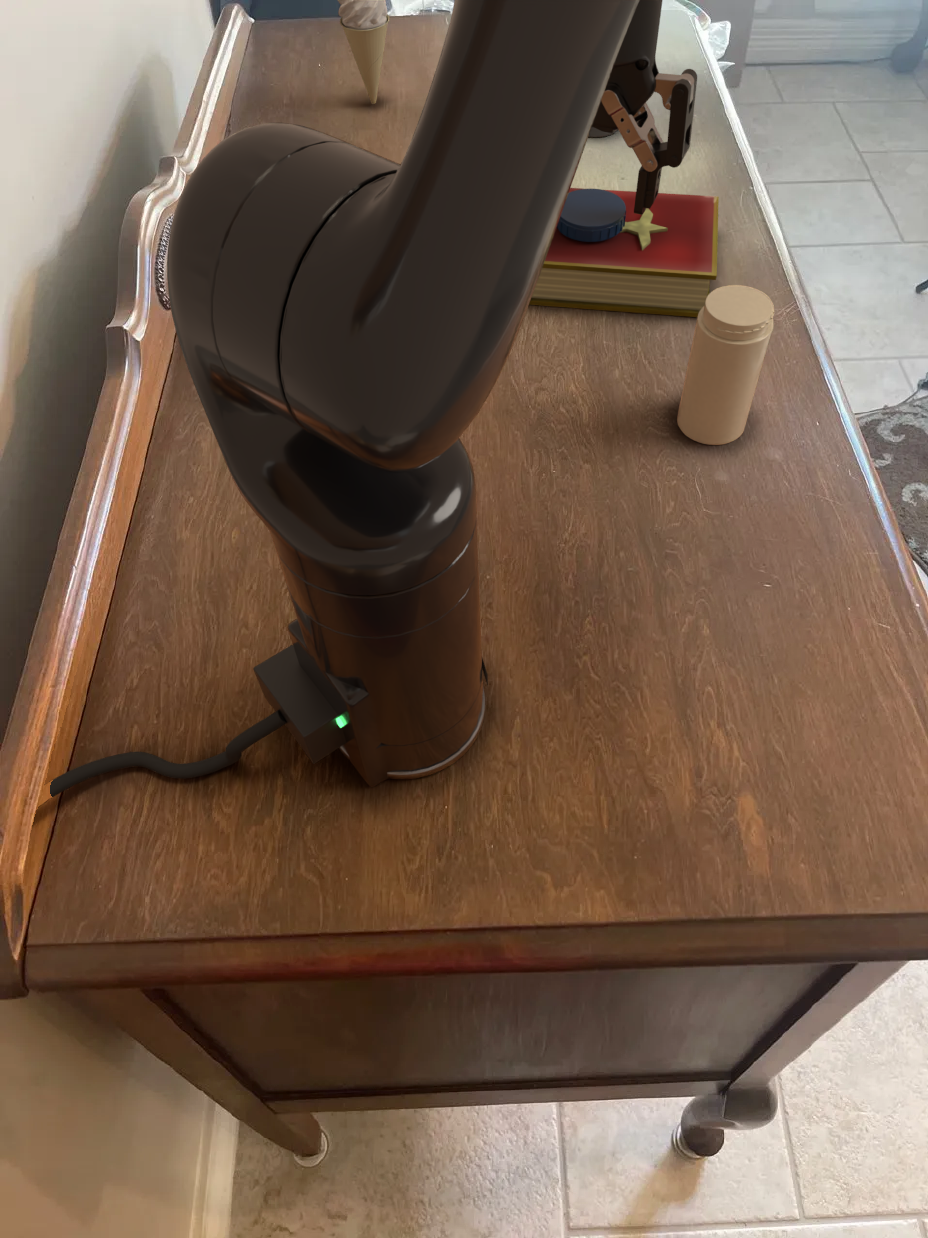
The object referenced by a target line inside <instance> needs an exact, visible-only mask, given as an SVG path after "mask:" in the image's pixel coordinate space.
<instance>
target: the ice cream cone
mask: <svg viewBox="0 0 928 1238" xmlns="http://www.w3.org/2000/svg"><path fill="white" fill-rule="evenodd" d="M386 1H387V0H337V2H338V4H339V8H338V12H337V13H338V16H339V17H341V18H340V19H339V24H340V26H341V27H342V30H343V32H344V34H345V36H346V40H347V42H348V45H349V47H350V50H351V53H352V55H353V58H354V61H355V63H356V64H355V65H356V66H357V70H358V72H359V74H360V76H361V79H362V82H363V84H364V87H365V89H366V92H367V95H368V98H369V100H370V102H371V104H372V105H374V104H376V103H377V99H378V93H379V86H380V78H381V72H382V66H383V65H382V64H383V59H384V52H385V45H386V37H387V32H388V23H389V22H390V15H389V13H388V8H387V3H386Z"/></svg>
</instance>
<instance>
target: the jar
mask: <svg viewBox="0 0 928 1238" xmlns="http://www.w3.org/2000/svg"><path fill="white" fill-rule="evenodd" d="M775 312H776V311H775V305H774V303H773V301H772V299H771V298H770V297H769V295H767V294H766V293H765V292H763V291H762V290H759V289H758V288H755V287H752V286H748V285H743V284H742V285H741V284H729V285H723V286H720V287H717V288H714V290H712V291H710V292H709V295H708V296H707V298H706V301H705V305H704V307H702V309H701V310H700V311H699V313H698V317H696V322H695V327H694V332H693V337H692V342H691V347H690V351H689V352H690V353H689V357H688V362H687V367H686V372H685V376H684V381H683V386H682V392H681V396H680V401H679V406H678V411H677V414H676V415H677V416H676V421H677V426H678V427H679V430H680V431H681V432H682V433H683V434H684V435H685V436H686V437H687V438H689V439H690V440H692V441H695V442H697V443H699V444H702V445H708V446H709V445H710V446H721V445H726V444H730V443H732V442H734V441H736V440H738V438H740V437H741V436H742V435H743V433H744V432H745V429H746V426H747V421H748V418H749V416H750V413H751V408H752V404H753V400H754V398H755V394H756V390H757V386H758V383H759V379H760V376H761V373H762V369H763V365H764V362H765V359H766V356H767V352H768V348H769V345H770V341H771V338H772V334H773V330H774V319H773V318H774V316H775Z"/></svg>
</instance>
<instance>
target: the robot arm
mask: <svg viewBox="0 0 928 1238" xmlns="http://www.w3.org/2000/svg"><path fill="white" fill-rule="evenodd" d="M662 7H663V0H454V2H453V5H452V11H451V16H450V21H449V24H448V28H447V32H446V35H445V38H444V42H443V46H442V49H441V52H440V55H439V59H438V63H437V65H436V68H435V71H434V75H433V78H432V80H431V84H430V87H429V90H428V92H427V93H428V94H427V95H426V96H427V97H426V100H425V102H424V105H423V108H422V111H421V113H420V116H419V119H418V121H417V124H416V126H415V129H414V132H413V135H412V138H411V141H410V143H409V145H408V147H407V150H406V151H405V154H404V156H403V158H402V160H401V163H398V162H396V161H394V160H392V159H389V158H387V157H384V156H382V155H379V154H377V153H375V152H372V151H370V150H367V149H365V148H363V147H360V146H357V145H355V144H352V143H350V142H348V141H345V140H343V139H340V138H338V137H335V136H333V135H331V134H329V133H327V132H326V133H325V132H323V131H320V130H317V129H314V128H312V127H309V126H305V125H300V124H297V123H296V124H295V123H289V122H288V123H287V122H267V123H260V124H256V125H255V124H254V125H252V126H251V125H250V126H248V127H245V128H242V129H240V130H238V131H236V132H235V133H232V134H230V135H228V136H227V137H225V138H224V139H223V140H221V141H220V142H218V143H217V144H216V145H215V146H214V147H212V148H211V149H210V150H209V152H208V153H207V154H206V155H205V156H204V157H203V158H202V159H201V161H200V162H199V163H198V164H197V165H196V167H195V169H194V170H193V171H192V173H191V175H190V176H189V178H188V179H187V182H186V184H185V185H184V187H183V190H182V192H181V194H180V196H179V198H178V201H177V204H176V207H175V209H174V213H173V217H172V221H171V225H170V231H169V238H168V245H167V256H166V279H167V280H166V281H167V289H168V290H167V291H168V301H169V306H170V307H169V308H170V312H171V317H172V321H173V325H174V329H175V334H176V337H177V340H178V343H179V346H180V347H179V348H180V350H181V353H182V355H183V358H184V362H185V364H186V367H187V369H188V372H189V375H190V377H191V380H192V383H193V386H194V388H195V390H196V393H197V396H198V398H199V401H200V403H201V406H202V408H203V410H204V413H205V415H206V418H207V420H208V423H209V425H210V427H211V431H212V433H213V436H214V437H215V440H216V443H217V445H218V449H219V451H220V453H221V455H222V457H223V461H224V463H225V465H226V467H227V469H228V472H229V474H230V476H231V479H232V480H233V482H234V484H235V486H236V489H237V490H238V492H239V494H240V495H241V497H242V498H243V499H244V501H245V502H246V504H247V505H248V506H249V507H250V509H251V510H252V512H253V513H254V514H255V515H256V516H257V518H258V519H260V521H261V522H262V523H263V525H264V526H265V527H266V529H268V531H269V534H270V536H271V539H272V542H273V545H274V549H275V553H276V555H277V558H278V561H279V565H280V568H281V571H282V575H283V578H284V581H285V583H286V588H287V590H288V594H289V597H290V601H291V603H292V606H293V610H294V613H295V616H296V618H295V619H294V620H292V621H290V622H289V623H288V624H287V632H288V634H289V637H290V641H291V643H292V644H291V645H289V646H287V647H286V648H284V649H282V650H280V651H279V652H277V653H275V654H274V655H272V656H270V657H269V658H267V659H266V660H263V661H262V662H260V663H259V664H257V665H255V666H254V667H252V669H253V672H254V674H255V677H256V679H257V682H258V684H259V687H260V690H261V691H262V694H263V696H264V698H265V700H266V701H267V702H268V704H269V705H270V707H271V708H272V709H273V711H274V712H273V713H271V714H270V715H267V716H266V717H264V718H263V719H261V720H260V721H258V722H256V723H255V724H253V725H252V726H250V727H248V728H247V729H245V730H244V731H242V732H240V733H239V734H238V735H236V736H235V737H233V738H232V739H231V740H230V741H229V742H228V743H227V745H226V747H225V751H222V752H220V753H218V754H216V755H214V756H211V757H208V758H206V759H202V760H197V761H194V762H188V763H187V762H186V763H176V762H172V761H168V760H167V759H164V758H162V757H160V756H158V755H156V754H152V753H149V752H145V751H129V752H128V751H127V752H123V753H118V754H114V755H110V756H106V757H105V756H104V757H102V758H99V759H96V760H93V761H89V762H87V763H84V764H82V765H79V766H77V767H75V768H72V769H70V770H68V771H66V772H64V773H62V774H60V775H58V776H57V777H55V778H53V779H52V780H53V781H52V782H51V785H50V794H51V796H52V797H53V798H55V797H56V796H57V795H60V794H61V793H63V792H64V791H66V790H68V789H70V788H72V787H74V786H76V785H78V784H80V783H82V782H85V781H87V780H89V779H92V778H95V777H98V776H100V775H103V774H107V773H111V772H113V771H118V770H123V769H128V768H134V767H142V768H145V769H148V770H150V771H152V772H154V773H156V774H159V775H161V776H164V777H168V778H172V779H179V780H180V779H184V780H185V779H194V778H198V777H202V776H206V775H209V774H212V773H216V772H219V771H220V770H223V769H226V768H227V767H229V766H231V765H233V764H235V763H238V762H239V760H240V759H241V757H242V752H244V751H245V750H247V749H248V748H249V747H251V746H253V745H254V744H255V743H257V742H259V741H260V740H262V739H264V738H265V737H267V736H268V735H270V734H272V733H273V732H275V731H277V730H278V729H280V728H281V727H283V726H285V727H286V728H287V730H288V732H290V734H291V735H292V737H293V738H294V740H295V741H296V742H297V744H298V745H299V746H300V748H301V749H302V751H303V752H304V753H305V755H306V756H307V758H308V759H309V760H310V762H311V764H313V765H314V764H316V763H318V762H319V761H321V760H323V759H324V758H325V757H327V756H329V755H331V754H332V753H334V752H335V751H336V750H339V751H340V752H341V754H343V756H344V757H345V758H346V759H347V760H348V761H349V762H350V763H351V764H352V766H353V767H354V768H355V770H356V771H357V772H358V774H359V775H360V777H361V778H362V779H363V780H364V781H365V783H366V784H367V785H368V786H369V787H371V788H374V787H376V786H378V785H379V784H381V783H382V782H385V781H386V780H388V779H394V780H413V779H419V778H424V777H427V776H431V775H434V774H437V773H439V772H441V771H443V770H445V769H447V768H449V767H450V766H452V765H453V764H455V763H456V762H458V761H459V760H460V759H461V758H463V756H464V755H465V754H467V753H468V751H469V750H470V749H471V748H472V746H473V745H474V743H475V742H476V740H477V738H478V737H479V735H480V732H481V730H482V727H483V724H484V721H485V715H486V693H485V689H484V682H483V681H484V679H485V682H486V685H487V687H488V686H489V683H488V682H489V680H488V679H489V677H488V671H487V667H486V664H485V662H484V658H483V655H482V630H481V629H482V628H481V625H482V624H481V605H480V604H481V601H480V600H481V599H480V580H479V579H480V578H479V577H480V575H479V547H478V546H479V545H478V544H479V543H478V516H477V515H478V507H477V502H478V501H477V486H476V485H477V483H476V475H475V470H474V466H473V463H472V460H471V457H470V455H469V452H468V450H467V448H466V445H464V443H463V441H462V439H461V438H460V437H461V436H462V435H463V434H464V433H465V432H466V431H467V429H468V427H469V426H470V425H471V424H472V423H473V421H474V420H475V418H476V417H477V416H478V415H479V413H480V411H481V410H482V409H483V406H484V405H485V403H486V401H487V399H488V397H489V396H490V394H491V393H492V390H493V388H494V387H495V385H496V383H497V382H498V380H499V378H500V376H501V373H502V371H503V369H504V368H505V365H506V363H507V361H508V359H509V356H510V354H511V352H512V349H513V347H514V345H515V342H516V339H517V337H518V335H519V332H520V329H521V327H522V325H523V321H524V319H525V316H526V314H527V311H528V308H529V303H530V300H531V297H532V295H533V292H534V289H535V287H536V284H537V281H538V279H539V276H540V273H541V270H542V267H543V264H544V261H545V259H546V256H547V253H548V250H549V247H550V244H551V242H552V239H553V236H554V233H555V230H556V227H557V224H558V222H559V219H560V216H561V213H562V210H563V207H564V204H565V202H566V199H567V196H568V193H569V190H570V188H572V184H573V181H574V178H575V176H576V173H577V170H578V168H579V164H580V161H581V159H582V156H583V153H584V150H585V147H586V144H587V142H588V139H589V137H588V136H589V133H590V130H591V128H592V127H594V128H596V129H599V130H601V131H603V132H608V133H613V132H614V130H617V131H619V133H620V135H621V137H622V139H623V141H624V142H625V145H626V146H627V147H628V148H629V149H632V151H633V152H634V154H635V156H636V157H637V160H638V162H639V163H640V167H639V169H638V174H637V183H636V190H635V192H636V197H635V205H634V213H635V214H641V215H643V213H644V212H645V210H646V208H648V209H650V208H651V206H652V204H653V203H654V201H655V199H656V197H657V195H658V193H659V191H660V184H661V177H662V171H663V170H662V169H663V168H664V167H670V168H678V167H679V166H681V164H682V162H683V160H684V159H685V156H686V155H687V153H688V151H689V149H690V147H691V139H692V133H693V132H692V131H693V121H694V111H695V101H696V94H697V86H698V85H697V83H698V74H697V72H696V70H694V69H693V68H686V69H684V70H683V71H682V72H681V74H671V73H660V71H659V69H658V66H657V61H656V54H657V47H658V46H657V45H658V39H659V38H658V37H659V31H660V24H661V16H662V15H661V14H662ZM654 93H657V94H659V95H660V97H661V100H662V106H663V107H664V109H665V110H667V111H669V118H668V119H669V122H668V131H667V132H668V133H667V141H664V140H663V138H662V137H661V134H660V132H659V131H658V129H657V127H656V122H655V117H654V115H653V113H652V110H651V109H650V107H649V105H648V103H647V102H648V101H649V100H650V99H651V98H652V96H653V95H654ZM613 134H614V133H613ZM483 677H484V678H483Z"/></svg>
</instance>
